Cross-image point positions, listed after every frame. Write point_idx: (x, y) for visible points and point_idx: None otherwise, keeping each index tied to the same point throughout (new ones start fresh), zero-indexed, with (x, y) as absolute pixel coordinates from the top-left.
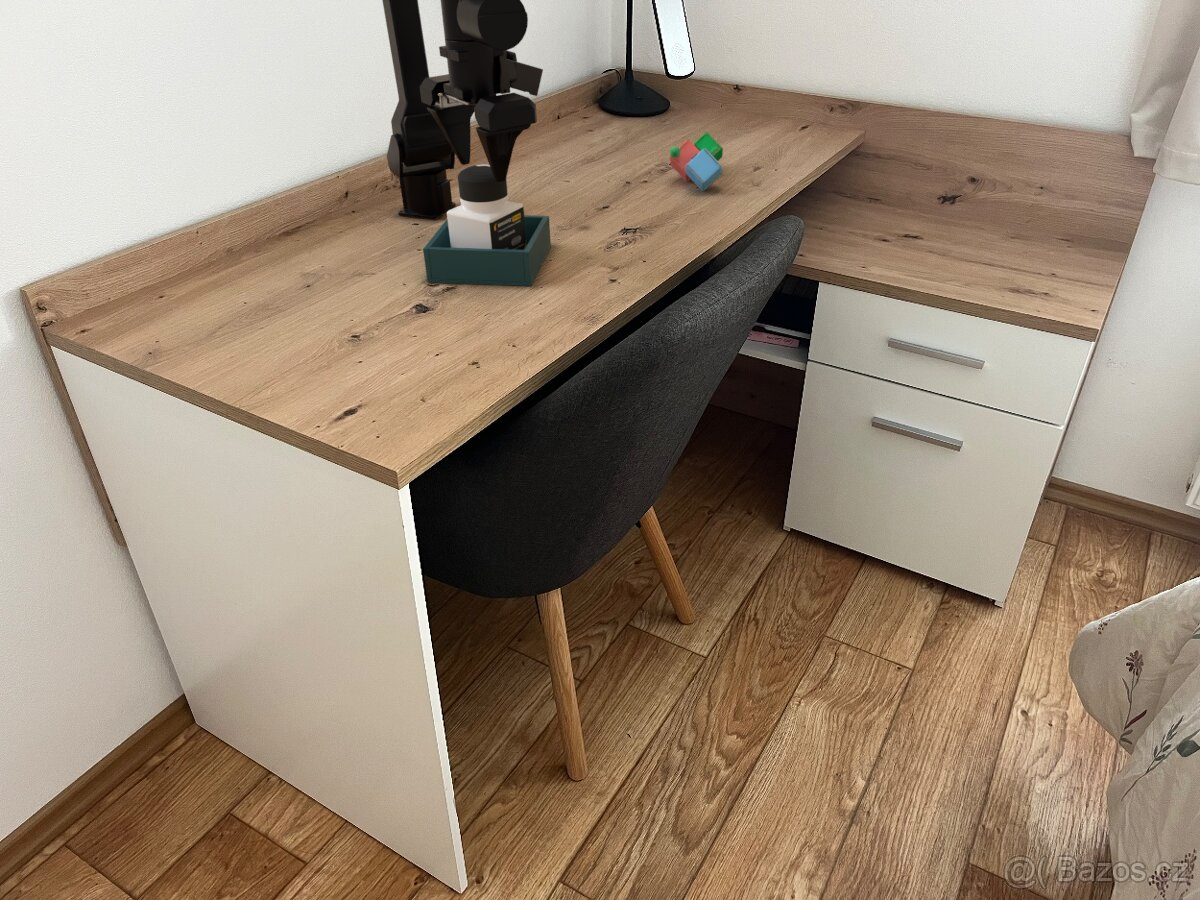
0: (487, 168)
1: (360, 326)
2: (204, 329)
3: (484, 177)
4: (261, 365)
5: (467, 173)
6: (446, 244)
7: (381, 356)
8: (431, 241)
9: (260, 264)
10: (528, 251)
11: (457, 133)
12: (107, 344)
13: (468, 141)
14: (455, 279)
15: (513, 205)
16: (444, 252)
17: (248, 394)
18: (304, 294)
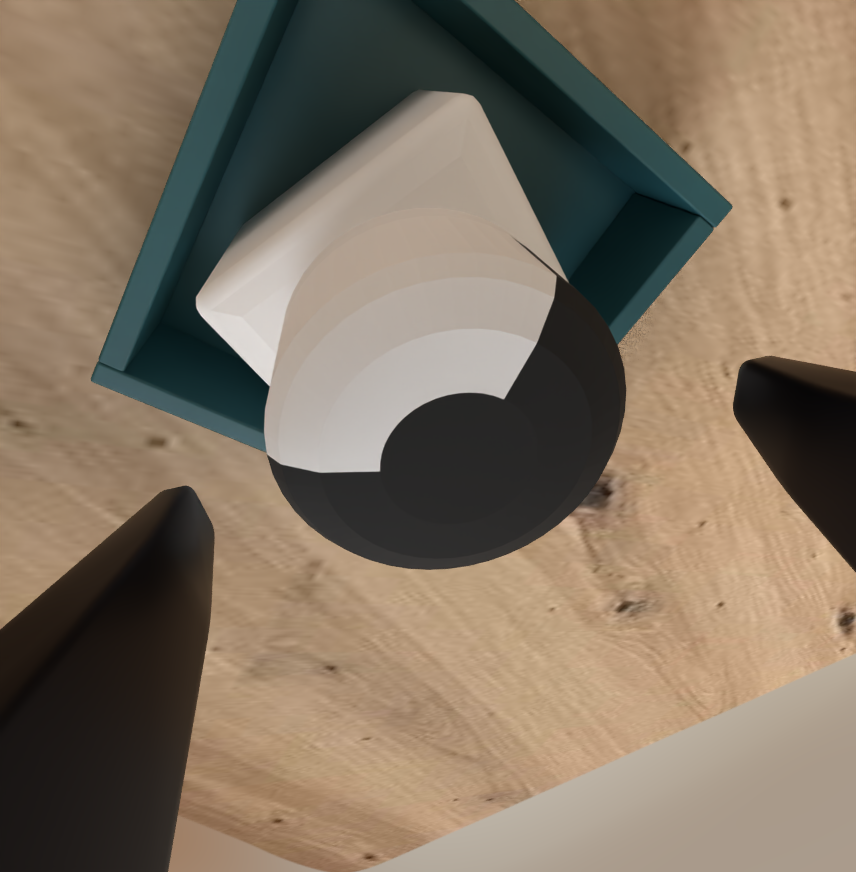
0: (479, 423)
1: (587, 599)
2: (446, 767)
3: (598, 462)
4: (622, 705)
5: (488, 548)
6: None
7: (728, 577)
8: None
9: None
10: (728, 204)
11: (119, 790)
12: (430, 834)
13: (116, 618)
14: None
15: (486, 180)
16: None
17: (693, 711)
18: (372, 672)
